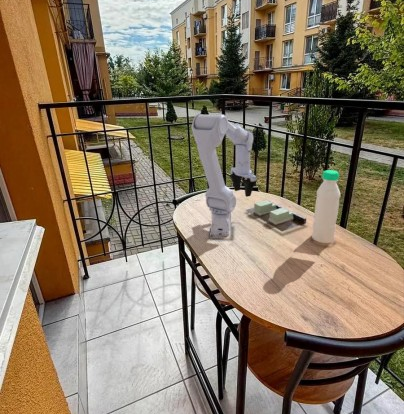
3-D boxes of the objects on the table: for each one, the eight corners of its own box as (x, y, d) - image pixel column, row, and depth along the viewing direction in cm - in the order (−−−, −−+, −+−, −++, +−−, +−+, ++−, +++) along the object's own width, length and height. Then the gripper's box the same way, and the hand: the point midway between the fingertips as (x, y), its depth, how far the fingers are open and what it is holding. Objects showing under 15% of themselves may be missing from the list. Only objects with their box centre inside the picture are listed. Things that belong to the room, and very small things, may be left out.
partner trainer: (259, 215, 113) (259, 206, 112) (253, 212, 117) (253, 203, 115) (276, 210, 117) (277, 201, 116) (270, 207, 121) (270, 198, 119)
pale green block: (275, 224, 106) (276, 215, 104) (268, 220, 109) (268, 211, 107) (293, 219, 109) (294, 209, 108) (285, 215, 113) (286, 206, 111)
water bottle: (335, 247, 92) (346, 175, 84) (313, 245, 94) (321, 174, 85) (331, 236, 99) (340, 168, 90) (309, 235, 100) (317, 168, 91)
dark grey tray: (281, 235, 101) (282, 226, 100) (245, 213, 120) (245, 205, 118) (305, 226, 106) (306, 218, 105) (267, 206, 125) (267, 199, 123)
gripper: (262, 163, 107) (261, 196, 112) (240, 156, 119) (240, 186, 124) (247, 166, 104) (247, 200, 109) (226, 158, 116) (226, 189, 121)
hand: (242, 193), depth 116 cm, fingers open, 7 cm apart
